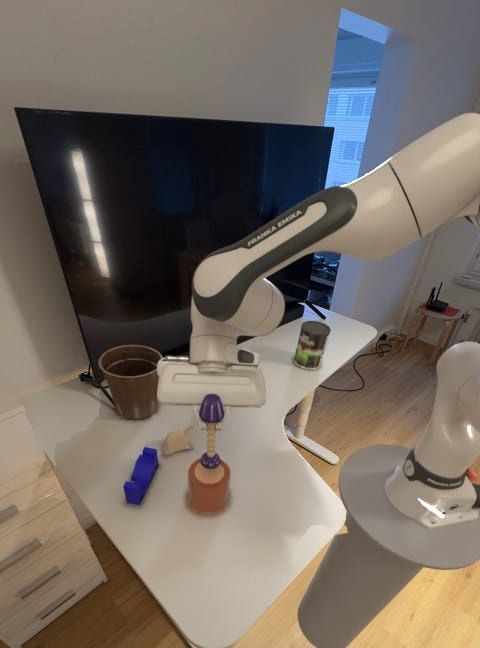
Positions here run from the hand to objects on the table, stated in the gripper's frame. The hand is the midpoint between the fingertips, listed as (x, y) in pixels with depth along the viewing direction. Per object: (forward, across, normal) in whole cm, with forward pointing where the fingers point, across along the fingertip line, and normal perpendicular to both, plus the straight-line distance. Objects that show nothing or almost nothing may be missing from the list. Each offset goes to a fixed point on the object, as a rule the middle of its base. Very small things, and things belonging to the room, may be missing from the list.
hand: (211, 430), depth 64 cm
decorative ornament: (+4, -8, +27) cm, 29 cm away
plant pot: (-7, -21, +39) cm, 45 cm away
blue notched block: (+12, -16, +19) cm, 28 cm away
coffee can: (-28, +36, +59) cm, 75 cm away
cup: (+15, 0, +16) cm, 22 cm away
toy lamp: (+6, 0, +7) cm, 10 cm away
